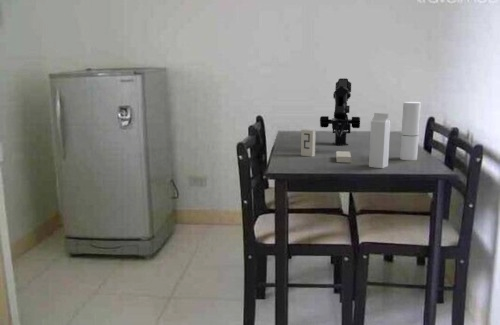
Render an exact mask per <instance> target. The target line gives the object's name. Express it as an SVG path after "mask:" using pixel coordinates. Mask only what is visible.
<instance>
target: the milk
mask: <svg viewBox="0 0 500 325" xmlns="http://www.w3.org/2000/svg"><path fill="white" fill-rule="evenodd" d="M390 136H391V120H390V118H389V113H383V112H381V113H379V112H378V113H377V112H374V114H373V117H372V119H371V121H370V137H369V138H370V139H369V156H368V157H369V158H368V167H369V168H370V167H371V168H376V169H385V168H387V167H388V166H389V154H390Z"/></svg>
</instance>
